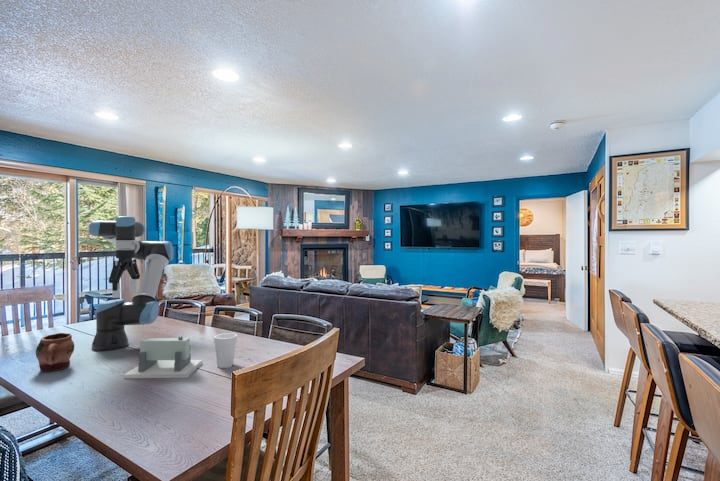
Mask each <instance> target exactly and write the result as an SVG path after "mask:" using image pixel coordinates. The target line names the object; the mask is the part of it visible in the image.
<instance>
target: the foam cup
mask: <svg viewBox="0 0 720 481" xmlns="http://www.w3.org/2000/svg"><path fill="white" fill-rule="evenodd" d="M237 342H238V334H236V333H232V332H225V333H219V334H216V335H214V337H213V343H214V350H215V357H216V364H217V368H220V369H228V368H230V367H232V365H233V366H234V359H235V353H236V347H237V346H236V345H237Z"/></svg>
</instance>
